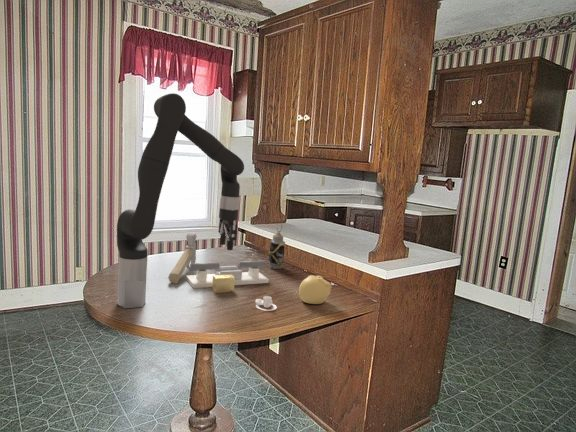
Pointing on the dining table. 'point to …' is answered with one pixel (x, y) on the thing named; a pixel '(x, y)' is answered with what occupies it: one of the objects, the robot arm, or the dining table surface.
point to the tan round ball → (314, 290)
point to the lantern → (276, 251)
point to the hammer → (184, 259)
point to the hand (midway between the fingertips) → (226, 247)
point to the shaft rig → (226, 273)
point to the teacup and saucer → (265, 303)
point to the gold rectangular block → (223, 283)
